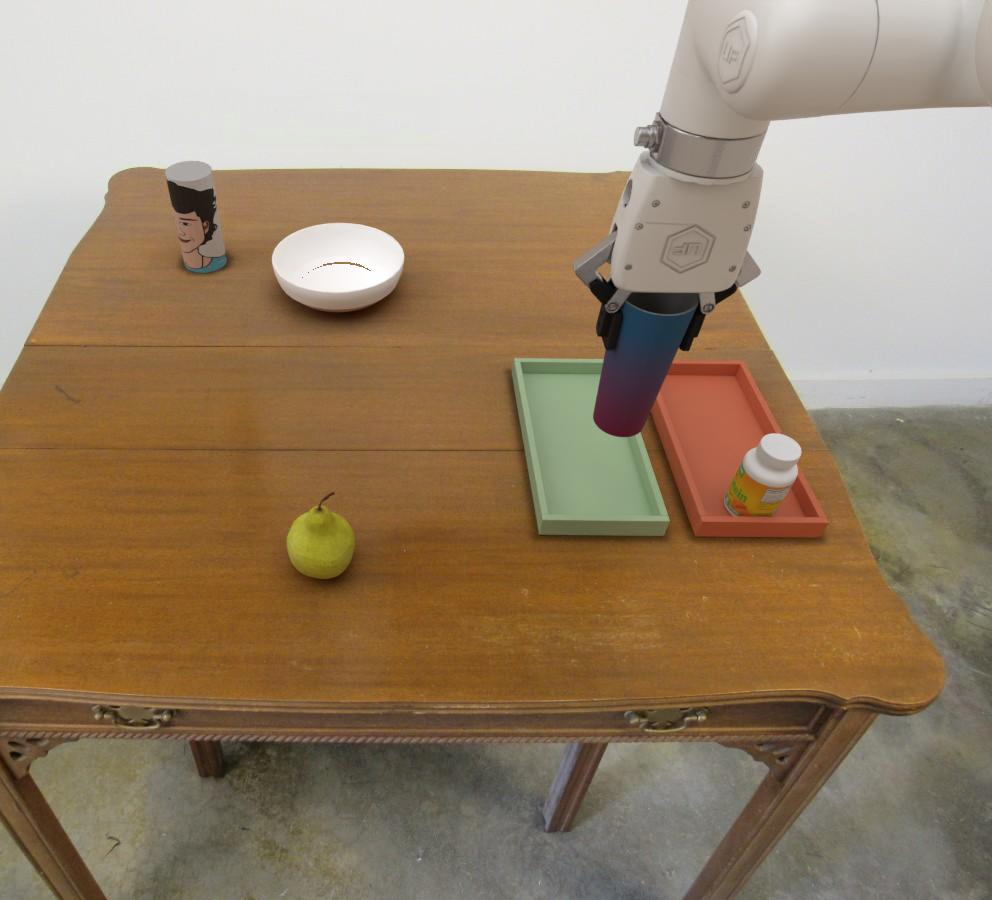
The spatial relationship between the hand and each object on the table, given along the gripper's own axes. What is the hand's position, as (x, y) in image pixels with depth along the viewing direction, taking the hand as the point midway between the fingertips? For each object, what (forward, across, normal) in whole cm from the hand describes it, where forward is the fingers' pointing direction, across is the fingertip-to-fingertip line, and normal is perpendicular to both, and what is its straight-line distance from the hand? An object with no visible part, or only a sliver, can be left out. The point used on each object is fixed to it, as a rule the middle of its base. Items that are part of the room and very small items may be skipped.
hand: (643, 340), depth 67 cm
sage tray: (+23, 0, +9) cm, 25 cm away
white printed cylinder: (+23, -53, +50) cm, 77 cm away
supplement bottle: (+23, +17, -1) cm, 28 cm away
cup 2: (+10, 0, 0) cm, 10 cm away
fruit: (+23, -30, -8) cm, 39 cm away
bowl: (+23, -31, +42) cm, 57 cm away
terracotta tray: (+23, +17, +9) cm, 30 cm away
